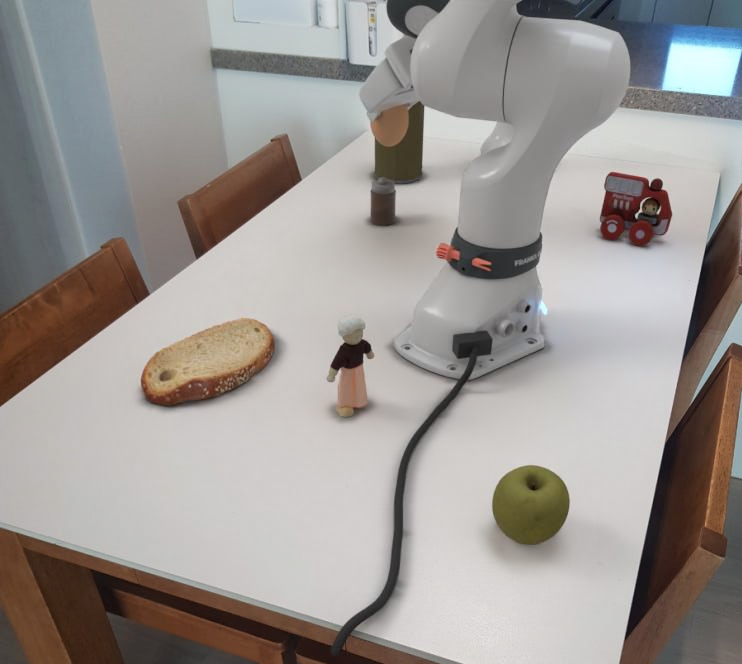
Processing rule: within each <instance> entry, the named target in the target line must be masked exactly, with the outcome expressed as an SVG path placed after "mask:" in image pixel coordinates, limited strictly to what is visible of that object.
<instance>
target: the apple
mask: <svg viewBox="0 0 742 664" xmlns="http://www.w3.org/2000/svg"><path fill="white" fill-rule="evenodd" d="M494 488H495V489H494V491H493V494H492V502H491V510H492V515H493V519H494V521H495V524H496V525H497V526H498V528H499V529H500V531H501V533H503V534H504V535H505V537H507V538H508V539H510V540H512V541H513V542H515V543H517V544H519V545H524V546H535V545H539V544H542V543H545V542H546V541H549V540H551V539H552V538H553V537H555V536H556V535H557V534H558V533H559V531H560V530H561V529H562V528H563V526H564V525H565V522H566V521H567V518H568V516H569V512H570V504H571V499H570V493H569V490H568V487H567V486H566V483H565V482H564V480H563V479H562V478H561V476H560V475H558V474H557V473H556V472H554V471H552V470H551V469H549V468H547V467H543V466H541V465H536V464H535V465H534V464H528V465H522V466H519V467H516V468H513V469H512V470H510V471H508V472H507V473H505V474H504V475H503V476H502V477H501V478H500V479H499V480H498V483H497V484H496V486H495V487H494Z"/></svg>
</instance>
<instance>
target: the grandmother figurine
mask: <svg viewBox="0 0 742 664" xmlns="http://www.w3.org/2000/svg"><path fill="white" fill-rule="evenodd" d="M336 326H337V330H338V331H337V333H338V335H339V336H340V337H341V339H342V341H343V343H342V344H341V345H340V346H339V348H338V350H337V352H336V353H335V355H334V357H333V359H332V361H331V363H330V366H329V370H328V374H327V376H326V381H327V382H328V383H334V382H335V381H336V377H337V375H338V373H339V371H340V375H339V379H338V384H337V401H336V403H337V405H336V406H335V411H336V412H337V414H338V415H339V416H340V417H341V418H350V417H352V416H354V414H355V410H354V408H355V409H357V410H361V409H364V408H366V407H367V406H368V392H367V384H366V383H367V382H366V379H365V378H366V376H365V371H364V355H365V357H366V359H367V360H373V359H374V358H375V353H374V351H373V349H372V344H371V342H369V341H368V340H366V339H364V330H365V329H366V322H365V320H364V319H363V318H362V317H360V316H358V315H355V314H354V315H353V314H347V315H345V316H343V318H341V319H339V321H338V324H337V325H336Z"/></svg>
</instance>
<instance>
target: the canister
mask: <svg viewBox="0 0 742 664" xmlns="http://www.w3.org/2000/svg"><path fill="white" fill-rule="evenodd" d="M408 114H409V124H408V129H407V132H406V134H405V136H404V137H403V139H402V140H401V141H400V142H399V143H398V144H396V145H394V146H391V147H387V146H384V145H382V144H380V143H379V142H378V141H377V140H376V138H375V137H374V171H373V177H374V178H375V180H377V179H379V178H381V177H386V178H387V179H389V180H392V181H394V182H395V185H404V184H411V183H414V182H418V181H420V180H421V179H422V178H423V176H424V173H423V156H424V155H423V153H424V131H425V130H424V129H425V128H424V127H425V106H424V105H423V104H422V103H421V102H420V101H418V102H417V103H416V104H414V105H413V106H412V107H411V108H410V109H409V110H408Z"/></svg>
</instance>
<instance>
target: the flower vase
mask: <svg viewBox="0 0 742 664" xmlns="http://www.w3.org/2000/svg"><path fill="white" fill-rule="evenodd" d="M512 137H513V126H512V125H511V124H508V123H504V122H495V126H494V128H493V130H492V131H491V134H490V135H488V137H487V138H486V139H485V140H483V142H482V144H481V146H480V153H479V154H480V155H482V154H484V153H486V152H488V151H490V150H493V149H496V148H498V147H501V146H503V145H506V144H508V143H509V142H511V140H512Z"/></svg>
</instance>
